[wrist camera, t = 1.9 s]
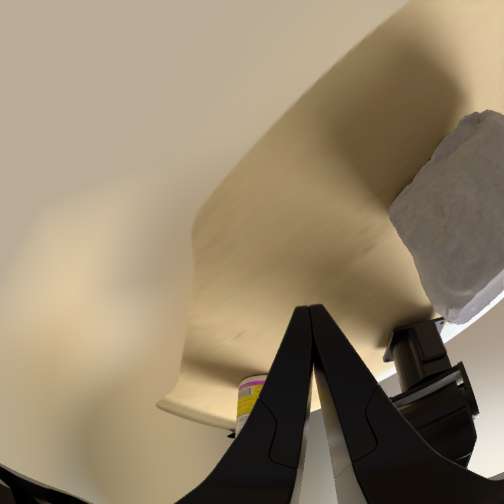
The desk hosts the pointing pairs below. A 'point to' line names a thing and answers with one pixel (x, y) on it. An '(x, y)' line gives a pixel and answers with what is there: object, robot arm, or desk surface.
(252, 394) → the supplement bottle
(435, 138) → the desk surface
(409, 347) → the robot arm
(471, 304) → the stone block
